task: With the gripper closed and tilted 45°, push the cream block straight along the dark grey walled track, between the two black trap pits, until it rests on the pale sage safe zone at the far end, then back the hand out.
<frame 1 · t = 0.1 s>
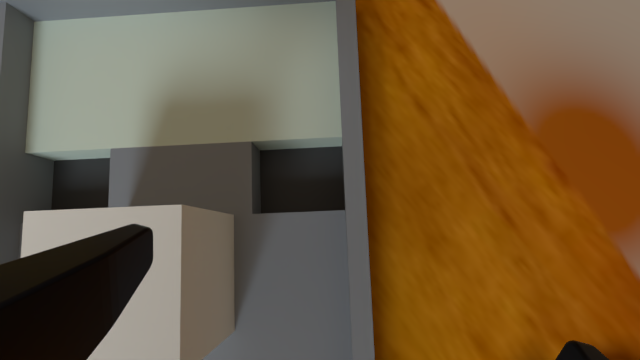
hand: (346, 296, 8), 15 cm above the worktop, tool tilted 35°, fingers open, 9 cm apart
cream block: (178, 273, 21), point 2 cm above the worktop, touching trap track
trap track: (196, 92, 25), on the worktop
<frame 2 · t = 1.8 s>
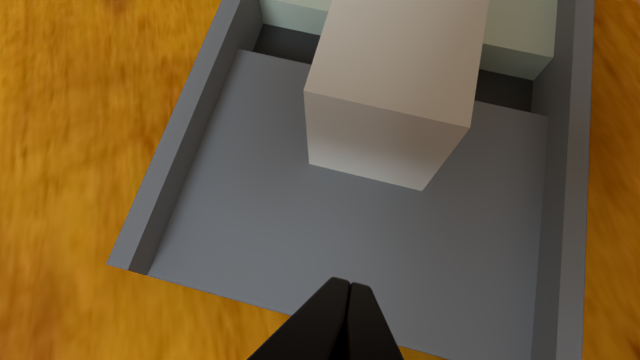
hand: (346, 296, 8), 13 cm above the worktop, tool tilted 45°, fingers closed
cream block: (376, 127, 22), point 2 cm above the worktop, touching trap track
trap track: (404, 6, 28), on the worktop
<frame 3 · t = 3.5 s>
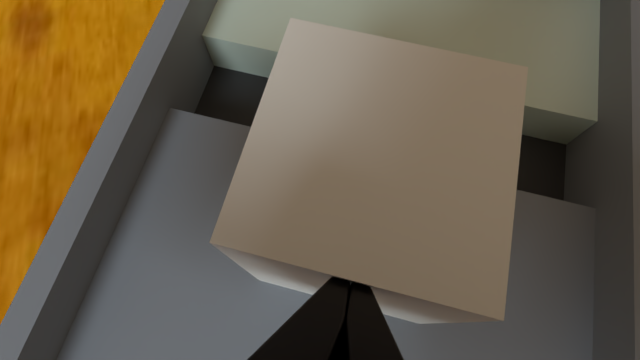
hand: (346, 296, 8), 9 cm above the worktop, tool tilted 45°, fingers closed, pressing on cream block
cream block: (355, 223, 15), point 3 cm above the worktop, touching gripper
trap track: (397, 43, 22), on the worktop
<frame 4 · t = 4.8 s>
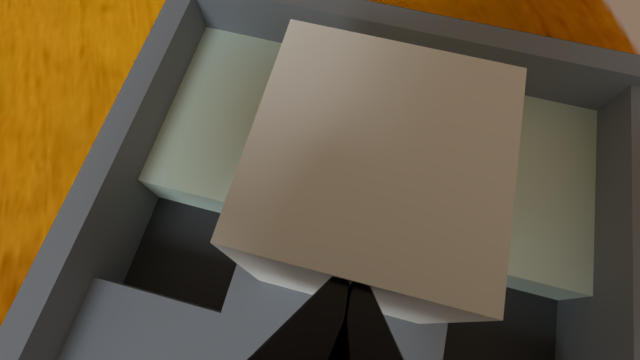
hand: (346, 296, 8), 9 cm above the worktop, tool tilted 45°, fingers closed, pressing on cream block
cream block: (355, 224, 16), point 2 cm above the worktop, touching gripper, trap track
trap track: (368, 166, 19), on the worktop
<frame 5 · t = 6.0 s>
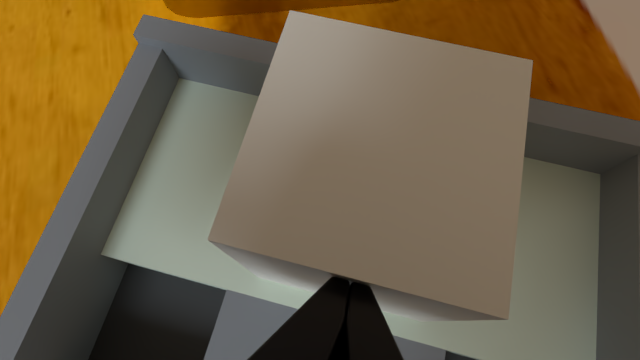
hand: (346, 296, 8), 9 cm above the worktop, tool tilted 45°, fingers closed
cream block: (356, 220, 15), point 2 cm above the worktop, touching trap track
trap track: (353, 227, 18), on the worktop
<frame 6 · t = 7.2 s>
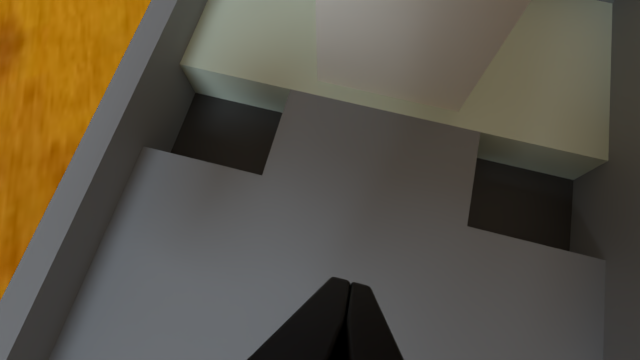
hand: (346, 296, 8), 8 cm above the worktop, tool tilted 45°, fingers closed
cream block: (400, 38, 18), point 2 cm above the worktop, touching trap track
trap track: (392, 66, 20), on the worktop
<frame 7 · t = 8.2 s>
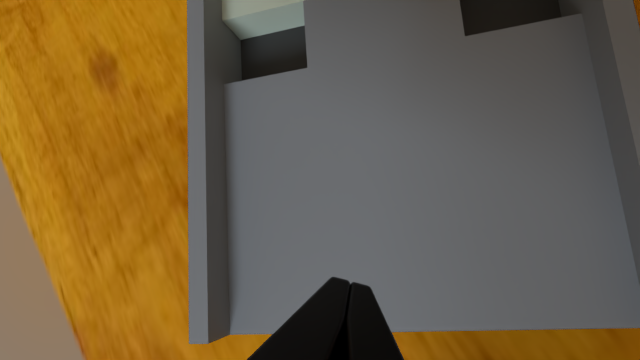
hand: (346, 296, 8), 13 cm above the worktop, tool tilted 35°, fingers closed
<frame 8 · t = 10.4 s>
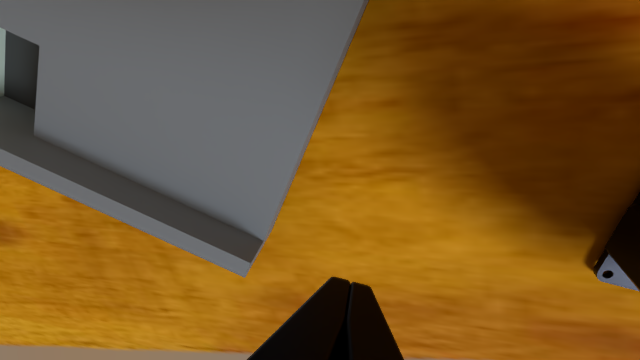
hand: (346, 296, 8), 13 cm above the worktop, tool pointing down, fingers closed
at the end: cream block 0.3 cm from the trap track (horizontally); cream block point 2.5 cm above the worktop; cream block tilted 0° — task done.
